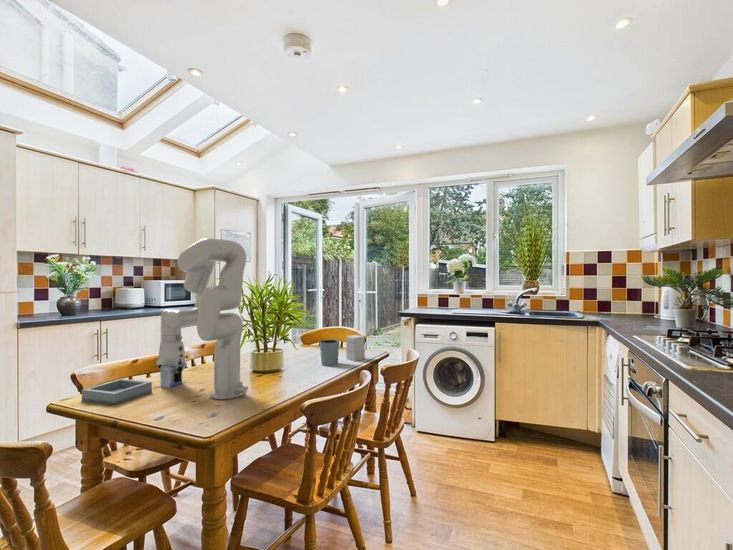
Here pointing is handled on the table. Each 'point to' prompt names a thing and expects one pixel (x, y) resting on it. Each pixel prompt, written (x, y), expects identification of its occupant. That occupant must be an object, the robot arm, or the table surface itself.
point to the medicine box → (168, 376)
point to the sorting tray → (116, 391)
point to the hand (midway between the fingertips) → (171, 380)
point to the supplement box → (355, 347)
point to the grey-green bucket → (329, 352)
